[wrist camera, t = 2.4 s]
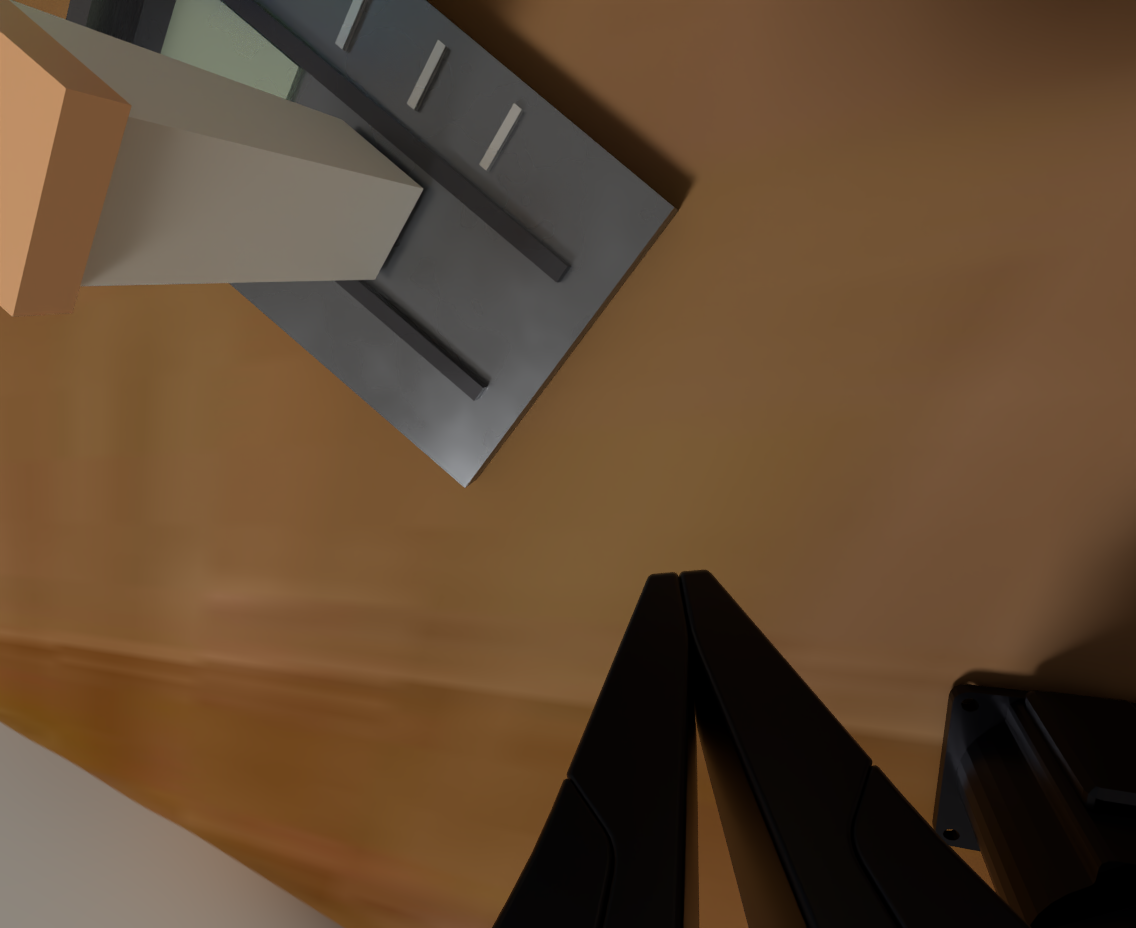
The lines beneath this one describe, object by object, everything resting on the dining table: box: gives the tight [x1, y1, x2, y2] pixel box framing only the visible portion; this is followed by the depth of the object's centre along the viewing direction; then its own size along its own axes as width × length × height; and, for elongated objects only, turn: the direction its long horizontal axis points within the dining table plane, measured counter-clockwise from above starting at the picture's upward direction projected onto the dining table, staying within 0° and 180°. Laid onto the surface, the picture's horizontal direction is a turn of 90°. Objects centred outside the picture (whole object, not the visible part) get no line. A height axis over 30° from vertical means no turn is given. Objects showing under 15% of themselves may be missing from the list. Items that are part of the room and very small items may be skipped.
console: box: [66, 0, 678, 488], centre depth 20 cm, size 20×12×3 cm, turn 53°
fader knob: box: [0, 0, 423, 317], centre depth 15 cm, size 4×4×11 cm
